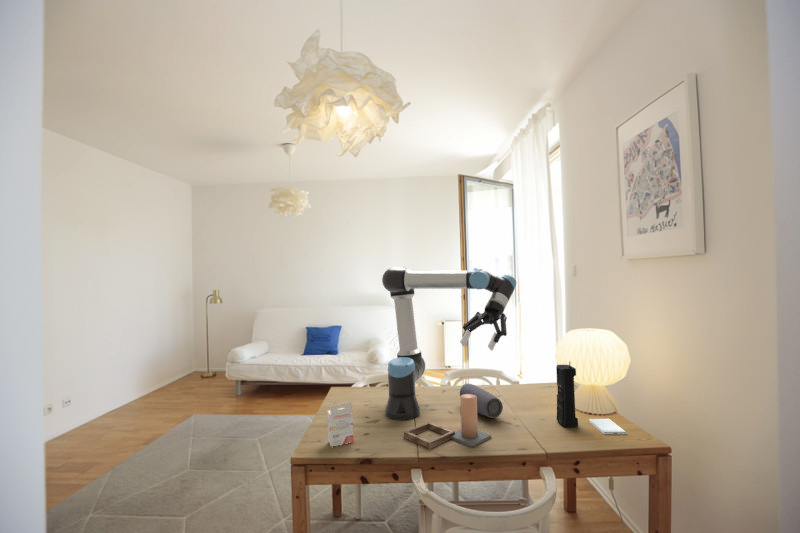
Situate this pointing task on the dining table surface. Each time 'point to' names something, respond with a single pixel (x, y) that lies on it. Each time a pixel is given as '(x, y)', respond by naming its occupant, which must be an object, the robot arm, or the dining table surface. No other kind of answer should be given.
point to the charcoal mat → (473, 441)
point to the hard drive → (607, 426)
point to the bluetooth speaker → (483, 401)
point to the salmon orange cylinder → (469, 416)
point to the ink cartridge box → (340, 424)
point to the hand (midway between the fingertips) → (475, 346)
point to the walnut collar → (429, 444)
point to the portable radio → (566, 396)
